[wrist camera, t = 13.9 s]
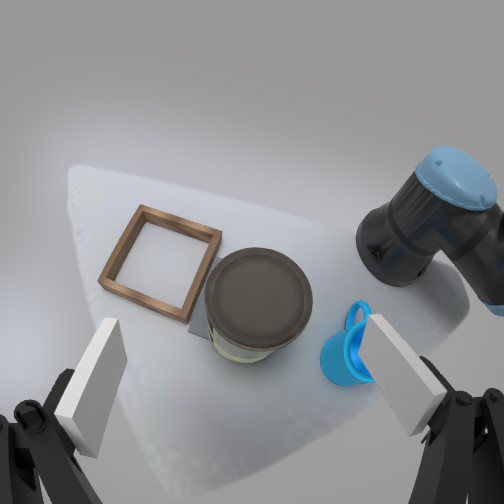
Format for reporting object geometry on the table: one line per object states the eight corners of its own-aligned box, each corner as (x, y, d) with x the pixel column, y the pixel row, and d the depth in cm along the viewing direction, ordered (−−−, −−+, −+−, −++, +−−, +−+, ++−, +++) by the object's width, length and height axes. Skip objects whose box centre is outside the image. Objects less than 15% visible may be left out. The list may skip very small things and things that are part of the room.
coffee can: (193, 314, 39) (184, 276, 27) (255, 280, 43) (274, 230, 30) (232, 378, 36) (242, 372, 24) (294, 339, 40) (333, 312, 27)
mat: (274, 277, 44) (274, 276, 43) (250, 353, 38) (250, 353, 38) (217, 258, 44) (217, 257, 44) (188, 331, 39) (188, 331, 38)
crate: (221, 241, 46) (222, 231, 43) (187, 324, 39) (185, 318, 36) (143, 214, 46) (140, 204, 43) (103, 288, 39) (97, 281, 37)
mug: (367, 385, 38) (397, 381, 31) (318, 384, 37) (341, 382, 30) (369, 311, 43) (396, 294, 36) (322, 306, 43) (344, 287, 36)
